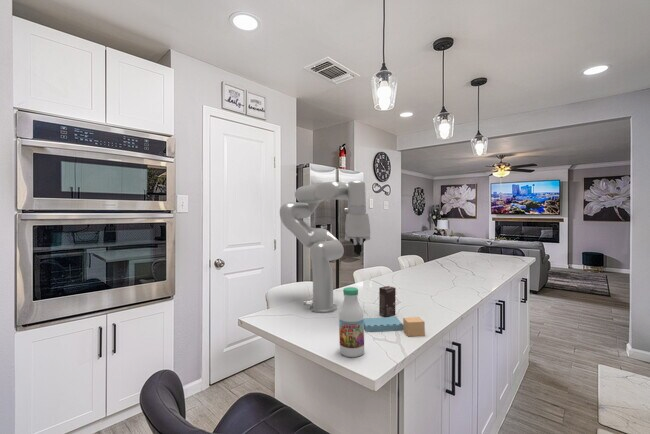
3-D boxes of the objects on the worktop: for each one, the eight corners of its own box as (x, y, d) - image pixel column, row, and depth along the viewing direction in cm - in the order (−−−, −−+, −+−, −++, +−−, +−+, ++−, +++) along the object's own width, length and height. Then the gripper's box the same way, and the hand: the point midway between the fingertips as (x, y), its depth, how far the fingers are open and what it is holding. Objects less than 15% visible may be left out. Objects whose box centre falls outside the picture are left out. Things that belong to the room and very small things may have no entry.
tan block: (408, 336, 103) (407, 322, 103) (403, 331, 108) (403, 317, 108) (424, 335, 103) (424, 321, 103) (419, 330, 108) (418, 317, 108)
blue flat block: (366, 332, 108) (366, 325, 108) (361, 323, 117) (361, 317, 117) (403, 330, 109) (403, 324, 109) (396, 321, 118) (396, 316, 118)
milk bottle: (338, 347, 95) (336, 286, 96) (361, 346, 96) (360, 285, 96) (341, 358, 88) (340, 291, 88) (366, 357, 88) (365, 290, 89)
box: (386, 318, 123) (385, 289, 123) (379, 315, 126) (378, 287, 127) (396, 315, 126) (395, 287, 126) (389, 312, 130) (388, 285, 130)
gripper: (340, 210, 119) (341, 255, 118) (376, 209, 120) (377, 254, 119) (338, 211, 126) (339, 253, 126) (372, 210, 127) (373, 252, 127)
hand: (357, 254), depth 123 cm, fingers closed
